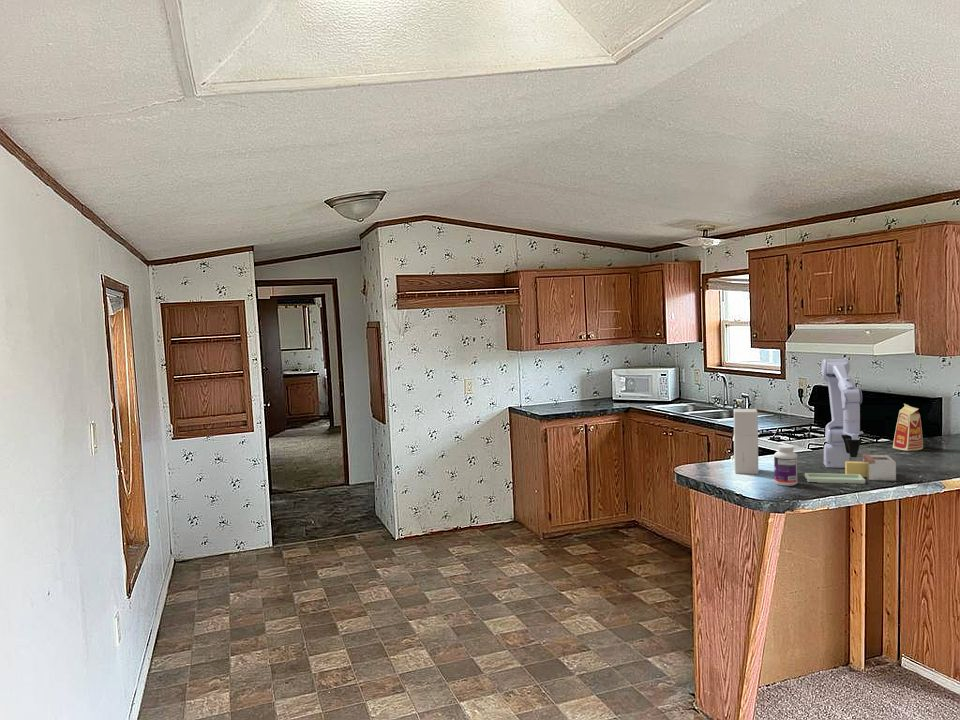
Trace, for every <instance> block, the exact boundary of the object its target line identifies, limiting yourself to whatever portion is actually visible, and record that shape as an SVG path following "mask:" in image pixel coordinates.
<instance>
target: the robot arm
mask: <svg viewBox="0 0 960 720" xmlns="http://www.w3.org/2000/svg"><path fill="white" fill-rule="evenodd" d="M850 370H851V363H850V360H849V359H848V358H833V359H832V358H830V359H827V358H823V359H822V361H821V375H822V377H821V378H822V380H823V381H825V382H827V387H828V394H829V395H828V397H829V406H830V414H831V421H830V422H828V423H827V424H826V425H825V432H824V436H825V442H826V443H827V444H824V445H823V465H824V466H825V468H840V469H841V468H843V469H845V461H850V458H858V455H859V449H860V446H861V444H862V443H863V439H862V438H861V439H859V436H860V435H863V434H864V432H863V431H862V430H861V412H860V411H861V407H860V406H861V405H862V403H863V393H862V390H861V389H860V388H859V387H857V386H856V384H855V382H854V380H853V378H851V377H849V373H850Z"/></svg>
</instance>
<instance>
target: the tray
mask: <svg viewBox="0 0 960 720" xmlns="http://www.w3.org/2000/svg"><path fill="white" fill-rule="evenodd" d="M804 478H805V479H807V480H806V481H807V483H808V482H817V483H816V484H845V483H848V485H849V484H851V485H852V484H854V485H866V479H865V477H862V476H861V475H860V474H845V473H829V472H827V473H826V472H825V473H822V472H821V473H820V472H818V473H817V472H816V473H815V472H804Z"/></svg>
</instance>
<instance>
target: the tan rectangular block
mask: <svg viewBox="0 0 960 720" xmlns="http://www.w3.org/2000/svg"><path fill="white" fill-rule="evenodd" d="M844 474H860V475H861V476H862V477H863V478H867V462H862V461H853V460H851V461H850V460H849V461H845V468H844Z"/></svg>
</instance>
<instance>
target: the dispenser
mask: <svg viewBox="0 0 960 720" xmlns="http://www.w3.org/2000/svg"><path fill="white" fill-rule="evenodd" d="M861 455H862V457H861V460H862V461H861V462H867V477H866V478H867V479H868V480H869V481H889V482H890V481H894V482H895V481H897V462H896V461H895V460H894V459H893V458H892V457H891V456H889V455H888V454H868V453H862V454H861Z"/></svg>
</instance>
